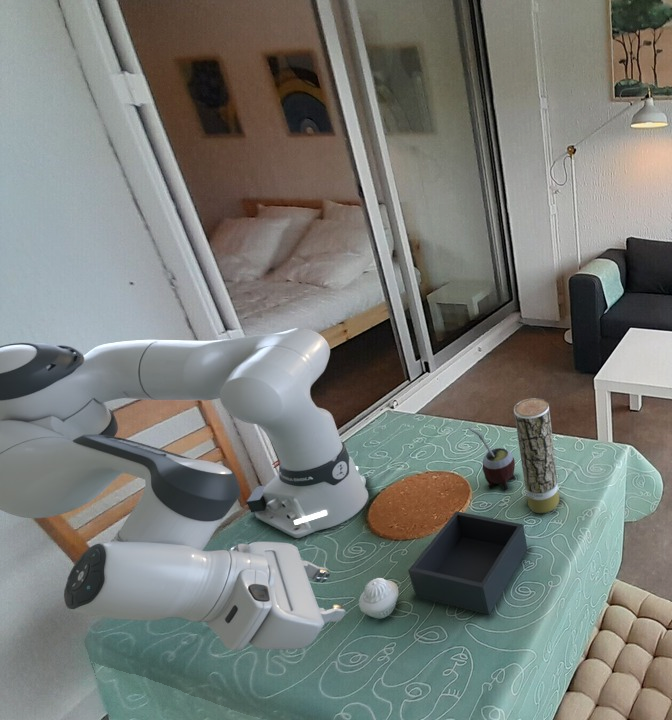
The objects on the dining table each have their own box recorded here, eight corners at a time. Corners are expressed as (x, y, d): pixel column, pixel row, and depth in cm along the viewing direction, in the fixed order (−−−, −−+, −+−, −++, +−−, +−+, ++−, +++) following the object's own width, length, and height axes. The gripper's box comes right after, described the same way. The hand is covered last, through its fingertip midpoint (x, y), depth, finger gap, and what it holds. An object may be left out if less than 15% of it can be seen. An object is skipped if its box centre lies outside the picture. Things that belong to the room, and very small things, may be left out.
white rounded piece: (386, 590, 90) (377, 562, 87) (410, 603, 88) (401, 575, 85) (356, 618, 85) (344, 590, 82) (380, 632, 83) (370, 604, 80)
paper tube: (553, 517, 106) (541, 418, 95) (523, 512, 107) (507, 414, 96) (563, 495, 112) (553, 399, 101) (535, 491, 113) (522, 396, 102)
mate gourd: (521, 484, 115) (513, 430, 109) (488, 498, 111) (477, 443, 105) (509, 468, 121) (501, 415, 114) (477, 480, 117) (466, 427, 110)
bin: (415, 597, 89) (407, 570, 86) (462, 536, 102) (456, 511, 98) (489, 615, 86) (483, 587, 82) (527, 550, 98) (523, 524, 95)
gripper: (214, 562, 76) (308, 571, 86) (230, 660, 62) (339, 657, 72) (239, 525, 76) (329, 539, 87) (260, 614, 63) (364, 618, 73)
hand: (334, 593), depth 79 cm, fingers open, 8 cm apart
